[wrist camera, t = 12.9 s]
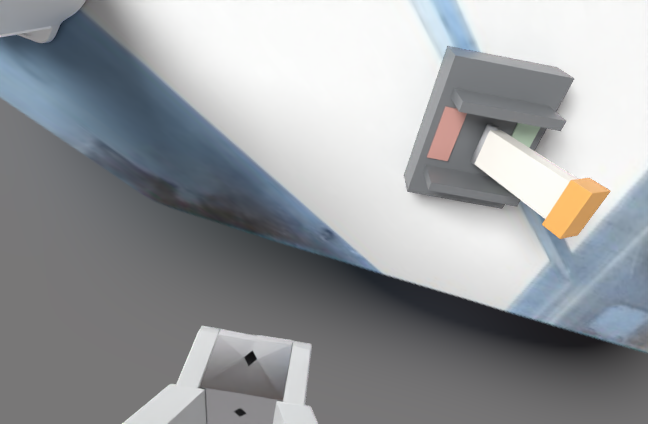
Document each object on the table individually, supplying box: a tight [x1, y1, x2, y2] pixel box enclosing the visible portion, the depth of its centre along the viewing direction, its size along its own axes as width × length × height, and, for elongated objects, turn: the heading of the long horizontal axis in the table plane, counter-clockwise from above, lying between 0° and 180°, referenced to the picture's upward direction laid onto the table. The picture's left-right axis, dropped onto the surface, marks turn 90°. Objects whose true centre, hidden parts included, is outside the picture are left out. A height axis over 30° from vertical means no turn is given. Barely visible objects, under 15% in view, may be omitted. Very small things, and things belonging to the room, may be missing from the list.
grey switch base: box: [404, 46, 574, 208], centre depth 41 cm, size 12×16×8 cm
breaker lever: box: [471, 124, 610, 239], centre depth 36 cm, size 2×5×13 cm, turn 171°
